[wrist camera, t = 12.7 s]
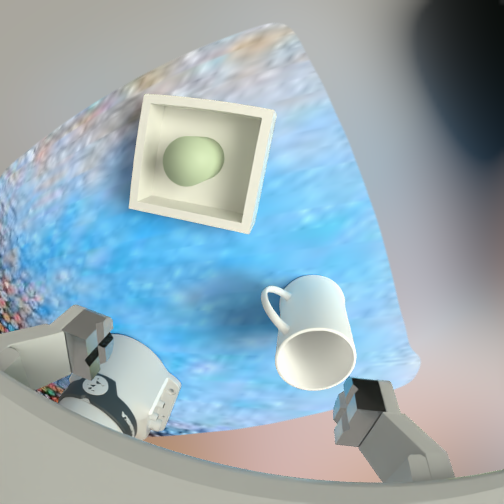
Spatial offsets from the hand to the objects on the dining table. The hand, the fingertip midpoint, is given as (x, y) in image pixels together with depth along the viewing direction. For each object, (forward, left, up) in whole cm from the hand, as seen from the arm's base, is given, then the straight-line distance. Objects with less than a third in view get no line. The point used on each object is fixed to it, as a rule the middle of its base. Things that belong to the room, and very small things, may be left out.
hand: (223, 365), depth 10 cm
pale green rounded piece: (+3, +9, -28) cm, 30 cm away
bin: (+3, +9, -29) cm, 31 cm away
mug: (-11, -6, -29) cm, 32 cm away
